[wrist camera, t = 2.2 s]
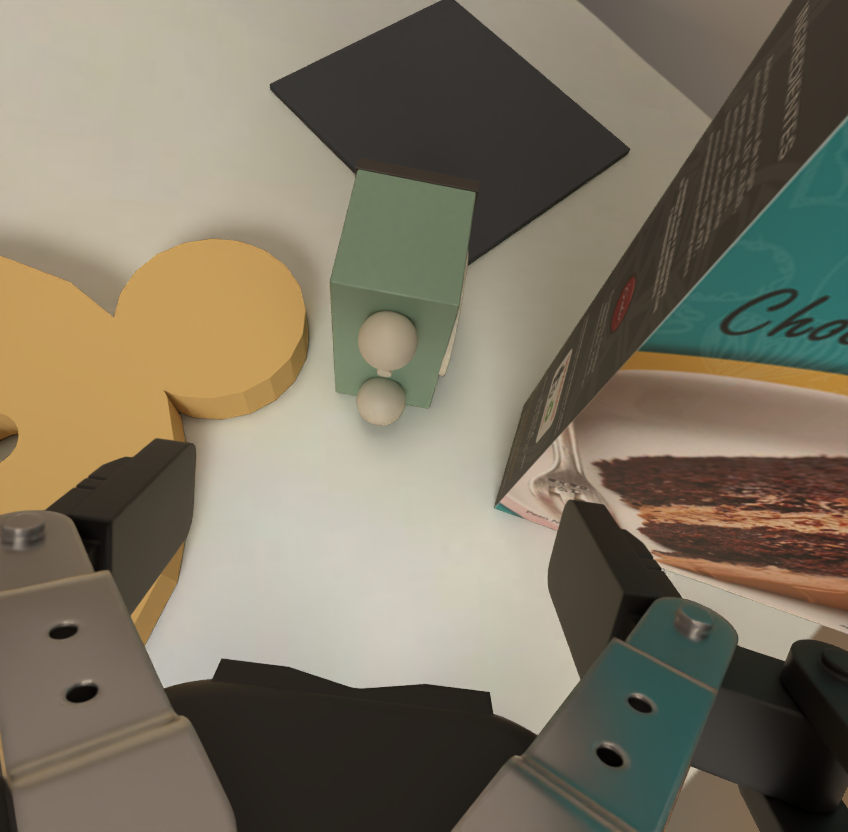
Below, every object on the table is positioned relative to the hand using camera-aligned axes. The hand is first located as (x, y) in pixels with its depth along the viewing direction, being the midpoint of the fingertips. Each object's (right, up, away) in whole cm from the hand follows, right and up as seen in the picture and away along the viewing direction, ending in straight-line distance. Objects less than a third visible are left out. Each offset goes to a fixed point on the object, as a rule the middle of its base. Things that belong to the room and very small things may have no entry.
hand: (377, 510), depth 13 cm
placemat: (+3, +22, +27) cm, 35 cm away
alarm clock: (-1, +5, +20) cm, 20 cm away
